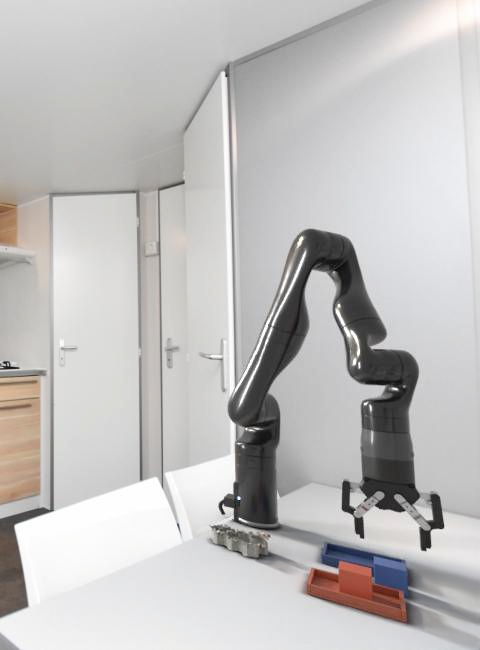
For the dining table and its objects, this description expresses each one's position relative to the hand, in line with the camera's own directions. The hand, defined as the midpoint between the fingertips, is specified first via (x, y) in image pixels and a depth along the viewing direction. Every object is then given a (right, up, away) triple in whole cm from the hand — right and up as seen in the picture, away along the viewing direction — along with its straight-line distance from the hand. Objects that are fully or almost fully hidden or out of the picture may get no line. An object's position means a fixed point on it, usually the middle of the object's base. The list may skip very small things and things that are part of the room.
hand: (391, 543), depth 88 cm
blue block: (-1, -8, -1) cm, 8 cm away
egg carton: (-19, -9, +16) cm, 27 cm away
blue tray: (+2, -9, +9) cm, 13 cm away
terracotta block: (-10, -7, -4) cm, 13 cm away
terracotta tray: (-10, -8, -4) cm, 13 cm away
